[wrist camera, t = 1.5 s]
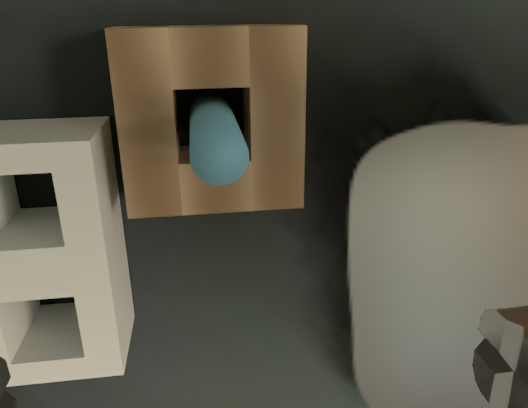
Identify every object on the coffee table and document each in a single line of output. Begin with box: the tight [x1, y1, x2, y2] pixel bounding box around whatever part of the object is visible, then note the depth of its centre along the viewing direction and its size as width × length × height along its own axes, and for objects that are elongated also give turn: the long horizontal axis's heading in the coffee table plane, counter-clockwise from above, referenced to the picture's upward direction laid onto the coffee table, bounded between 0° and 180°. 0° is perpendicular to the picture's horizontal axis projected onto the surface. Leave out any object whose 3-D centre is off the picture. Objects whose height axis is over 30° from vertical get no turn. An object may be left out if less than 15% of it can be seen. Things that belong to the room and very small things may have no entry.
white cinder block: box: [0, 116, 135, 387], centre depth 28 cm, size 8×14×6 cm, turn 1°
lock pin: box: [190, 92, 249, 185], centre depth 25 cm, size 2×2×10 cm
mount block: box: [104, 24, 307, 219], centre depth 28 cm, size 10×10×4 cm
